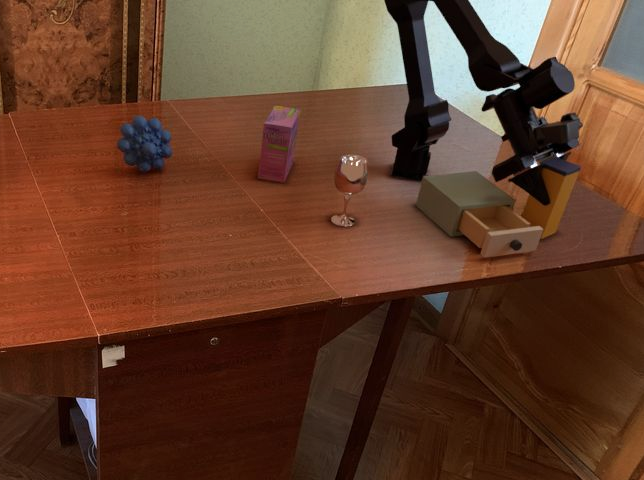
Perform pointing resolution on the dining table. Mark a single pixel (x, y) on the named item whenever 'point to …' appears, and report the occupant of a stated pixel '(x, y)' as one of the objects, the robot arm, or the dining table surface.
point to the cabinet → (458, 197)
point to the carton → (552, 195)
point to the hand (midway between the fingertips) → (555, 201)
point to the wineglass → (349, 183)
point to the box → (278, 143)
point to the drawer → (499, 230)
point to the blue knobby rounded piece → (144, 143)
